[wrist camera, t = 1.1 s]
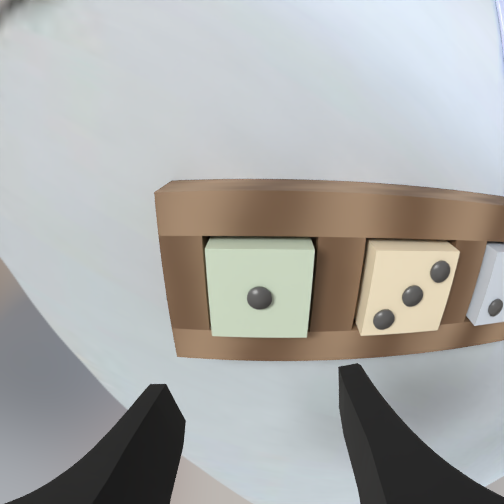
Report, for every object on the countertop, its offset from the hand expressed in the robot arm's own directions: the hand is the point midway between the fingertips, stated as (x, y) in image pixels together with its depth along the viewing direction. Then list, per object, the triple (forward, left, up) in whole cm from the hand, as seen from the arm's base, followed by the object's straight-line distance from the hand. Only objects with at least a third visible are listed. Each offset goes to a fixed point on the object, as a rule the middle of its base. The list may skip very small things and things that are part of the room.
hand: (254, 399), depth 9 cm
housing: (-8, 0, -10) cm, 13 cm away
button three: (-8, 0, -9) cm, 12 cm away
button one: (0, 0, -9) cm, 9 cm away
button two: (-16, 0, -9) cm, 18 cm away
